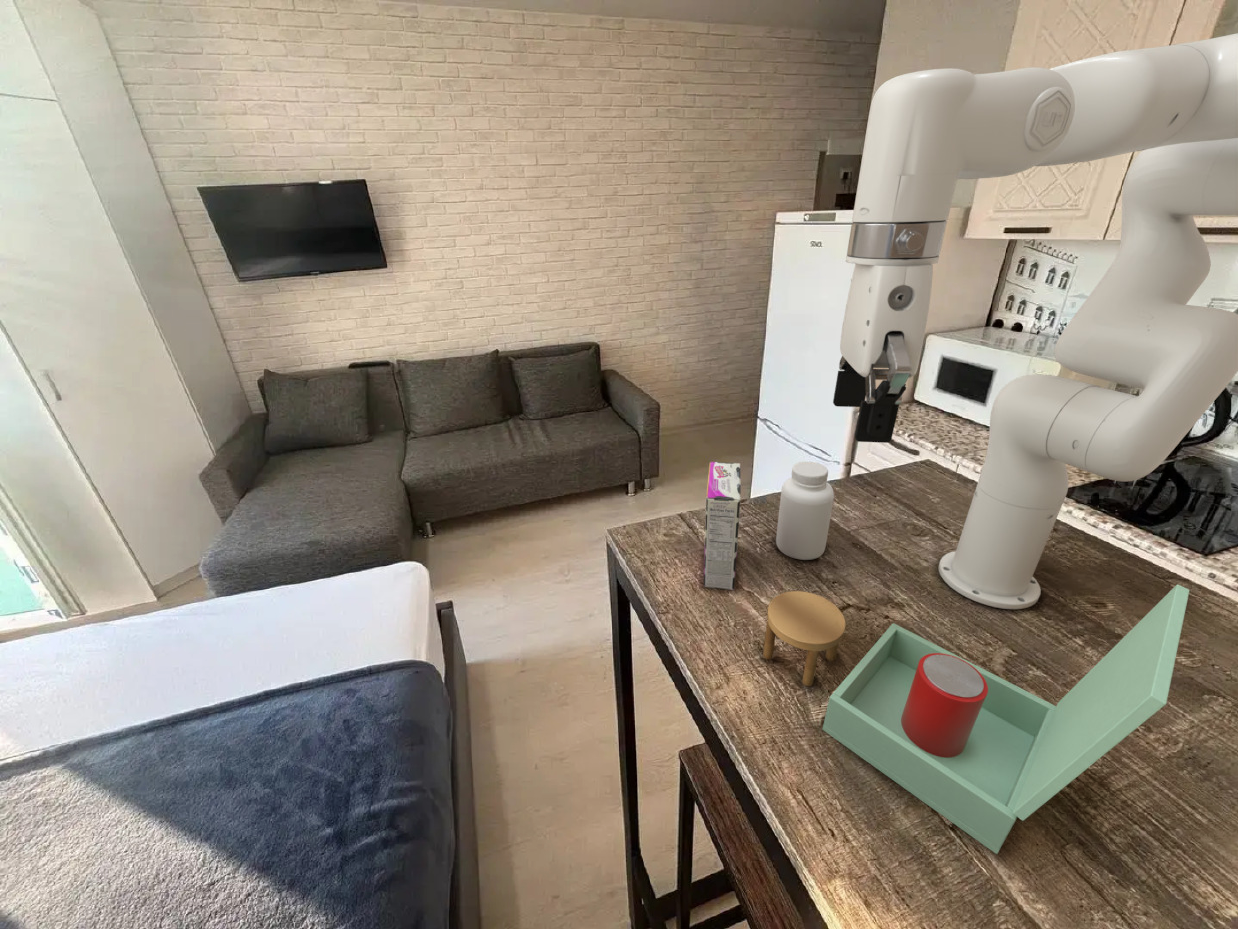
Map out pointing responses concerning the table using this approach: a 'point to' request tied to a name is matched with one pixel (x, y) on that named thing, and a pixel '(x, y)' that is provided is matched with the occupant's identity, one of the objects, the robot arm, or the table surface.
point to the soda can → (943, 704)
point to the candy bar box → (722, 525)
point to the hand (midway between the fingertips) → (859, 422)
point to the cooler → (954, 786)
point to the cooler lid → (1107, 702)
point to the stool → (804, 627)
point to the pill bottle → (805, 512)
